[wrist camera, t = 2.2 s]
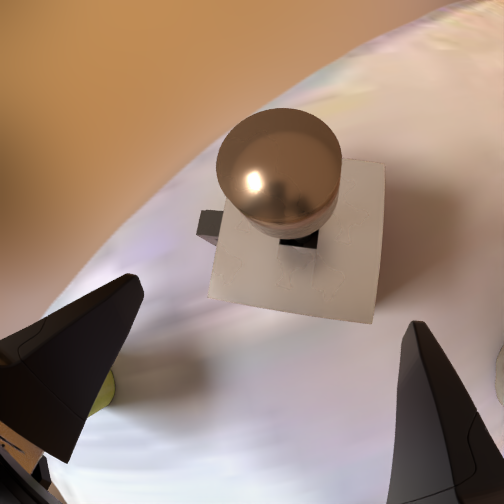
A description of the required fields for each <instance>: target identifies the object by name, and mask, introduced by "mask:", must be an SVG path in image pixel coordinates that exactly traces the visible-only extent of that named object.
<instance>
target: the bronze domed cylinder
mask: <svg viewBox="0 0 504 504" xmlns="http://www.w3.org/2000/svg"><path fill="white" fill-rule="evenodd" d="M341 167H342V154H341V148H340V145H339V142H338V140H337V138H336V136H335V134H334V133H333V132H332V130H331V129H330V128H329V127H328V126H327V125H326V124H325V123H324V122H323V121H321V120H320V119H319V118H317V117H315V116H314V115H312V114H309V113H307V112H304V111H301V110H296V109H289V108H276V109H269V110H265V111H262V112H259V113H256V114H254V115H252V116H250V117H248V118H246V119H244V120H243V121H241V122H240V123H239V124H238V125H236V126H235V127H234V128H233V129H232V130H231V131H230V133H229V134H228V135H227V136H226V138H225V140H224V141H223V143H222V145H221V147H220V150H219V153H218V156H217V162H216V172H217V178H218V182H219V185H220V187H221V189H222V191H223V192H224V194H225V196H226V197H227V198H228V199H229V200H230V201H231V203H232V204H233V205H234V206H235V207H236V208H237V209H238V210H239V211H240V213H241V214H242V215H243V216H244V217H245V218H246V219H247V220H248V222H249V223H250V224H251V225H252V226H253V227H254V228H256V229H257V230H258V231H260V232H261V233H263V234H266V235H268V236H271V237H274V238H279V239H295V240H296V241H297V242H298V243H301V244H304V243H307V242H308V241H309V240H310V238H311V233H313V232H315V231H317V230H318V229H320V228H321V227H322V226H323V225H324V224H325V223H326V222H327V221H328V220H329V219H330V217H331V216H332V214H333V212H334V210H335V208H336V205H337V202H338V197H339V188H340V178H341Z"/></svg>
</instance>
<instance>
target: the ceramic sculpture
mask: <svg viewBox="0 0 504 504" xmlns="http://www.w3.org/2000/svg"><path fill="white" fill-rule="evenodd" d="M495 389H496V393H497V397H498V400H499V402H500V403H501V404H502V405H503V406H504V345H503V347H502V349H501V351H500V353H499V355H498V357H497V360H496V380H495Z"/></svg>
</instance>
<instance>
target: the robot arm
mask: <svg viewBox="0 0 504 504" xmlns="http://www.w3.org/2000/svg"><path fill="white" fill-rule="evenodd" d="M143 298H144V291H143V288H142V285H141V283H140V280H139V277H138V276H137V275H134V274H130V273H127V274H124V275H123V276H121V277H119V278H117V279H115V280H113V281H111V282H109V283H107V284H105V285H103V286H102V287H100V288H98V289H96V290H94V291H92V292H90V293H88V294H87V295H85V296H83V297H81V298H79V299H77V300H75V301H74V302H72V303H70V304H68V305H66V306H64V307H63V308H61V309H59V310H57V311H55V312H54V313H52V314H50V315H48V317H47V316H46V317H45V318H43V319H41V320H39V321H37V322H36V323H34V324H32V325H30V326H28V327H26V328H24V329H22V330H20V331H18V332H16V333H14V334H12V335H10V336H8V337H6V338H4V339H2V340H0V504H62V503H61V502H60V501H59V500H57V499H56V498H55V497H54V496H53V495H52V494H50V493H49V492H48V491H47V490H48V488H49V486H50V484H51V478H50V474H49V469H48V464H47V458H46V457H45V456H44V455H43V453H44V452H47V453H48V454H50V455H52V456H53V457H55V458H57V459H59V460H61V461H62V462H64V463H66V464H68V462H69V460H70V458H71V455H72V453H73V450H74V448H75V445H76V443H77V441H78V438H79V436H80V434H81V431H82V429H83V427H84V424H85V422H86V420H87V417H88V415H89V413H90V411H91V409H92V406H93V404H94V402H95V400H96V398H97V396H98V394H99V391H100V389H101V387H102V385H103V383H104V381H105V379H106V377H107V375H108V373H109V371H110V369H111V367H112V365H113V363H114V361H115V359H116V357H117V355H118V353H119V351H120V349H121V347H122V345H123V344H124V342H125V340H126V338H127V336H128V334H129V332H130V329H131V327H132V325H133V322H134V320H135V317H136V315H137V313H138V310H139V308H140V306H141V303H142V301H143ZM386 504H504V458H503V456H502V455H501V453H500V451H499V450H498V448H497V446H496V444H495V443H494V441H493V439H492V437H491V436H490V434H489V432H488V430H487V428H486V426H485V424H484V422H483V420H482V418H481V416H480V414H479V412H477V409H476V407H475V405H474V403H473V401H472V399H471V397H470V396H469V394H468V392H467V390H466V388H465V387H464V385H463V383H462V381H461V379H460V378H459V376H458V374H457V373H456V371H455V369H454V367H453V366H452V364H451V362H450V361H449V359H448V358H447V356H446V354H445V353H444V351H443V349H442V348H441V346H440V345H439V343H438V342H437V340H436V338H435V337H434V335H433V334H432V332H431V331H430V329H429V328H428V326H427V325H426V323H425V322H423V321H411V323H410V324H409V326H408V329H407V331H406V333H405V335H404V337H403V339H402V344H401V356H400V367H399V376H398V385H397V407H396V428H395V442H394V453H393V463H392V471H391V478H390V485H389V492H388V498H387V503H386Z"/></svg>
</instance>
